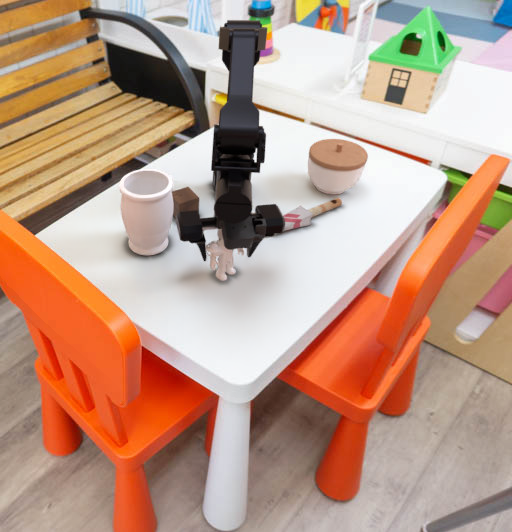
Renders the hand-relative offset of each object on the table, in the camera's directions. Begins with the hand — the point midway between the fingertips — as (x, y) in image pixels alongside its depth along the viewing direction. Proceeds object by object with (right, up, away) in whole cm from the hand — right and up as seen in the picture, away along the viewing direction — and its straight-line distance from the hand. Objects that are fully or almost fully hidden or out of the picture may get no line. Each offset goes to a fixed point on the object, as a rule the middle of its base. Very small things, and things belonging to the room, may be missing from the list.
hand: (226, 258), depth 100 cm
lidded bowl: (+28, +17, +25) cm, 41 cm away
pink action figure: (0, -3, +3) cm, 4 cm away
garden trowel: (+20, +9, +15) cm, 26 cm away
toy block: (-7, +10, +18) cm, 22 cm away
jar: (-15, +3, +11) cm, 18 cm away
